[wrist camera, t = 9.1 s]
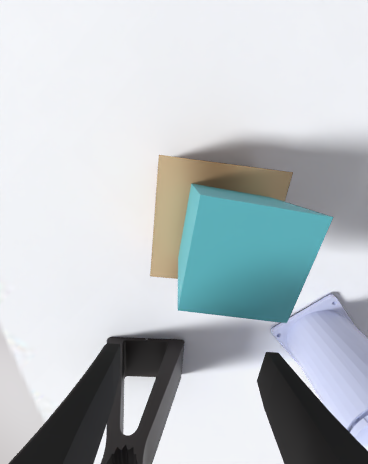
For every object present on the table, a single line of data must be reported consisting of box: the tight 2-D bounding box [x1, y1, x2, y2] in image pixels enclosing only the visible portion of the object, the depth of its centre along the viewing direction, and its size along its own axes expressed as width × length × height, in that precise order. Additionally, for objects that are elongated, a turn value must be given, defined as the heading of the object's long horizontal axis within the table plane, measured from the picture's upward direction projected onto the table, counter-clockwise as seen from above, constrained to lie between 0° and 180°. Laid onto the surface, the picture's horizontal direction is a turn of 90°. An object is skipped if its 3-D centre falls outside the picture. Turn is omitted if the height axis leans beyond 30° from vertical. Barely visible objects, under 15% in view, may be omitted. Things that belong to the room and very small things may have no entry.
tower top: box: [150, 155, 293, 279], centre depth 14 cm, size 8×8×3 cm
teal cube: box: [178, 183, 333, 323], centre depth 10 cm, size 5×5×5 cm
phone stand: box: [101, 337, 184, 464], centre depth 18 cm, size 9×6×12 cm, turn 85°
